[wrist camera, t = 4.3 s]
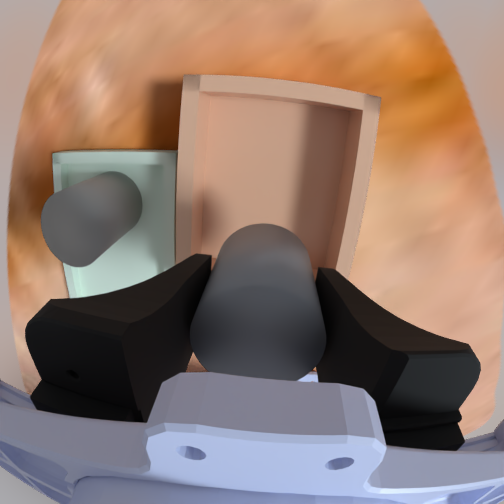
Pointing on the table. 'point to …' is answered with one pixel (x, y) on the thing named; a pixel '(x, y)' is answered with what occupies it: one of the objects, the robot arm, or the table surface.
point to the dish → (273, 164)
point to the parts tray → (147, 228)
